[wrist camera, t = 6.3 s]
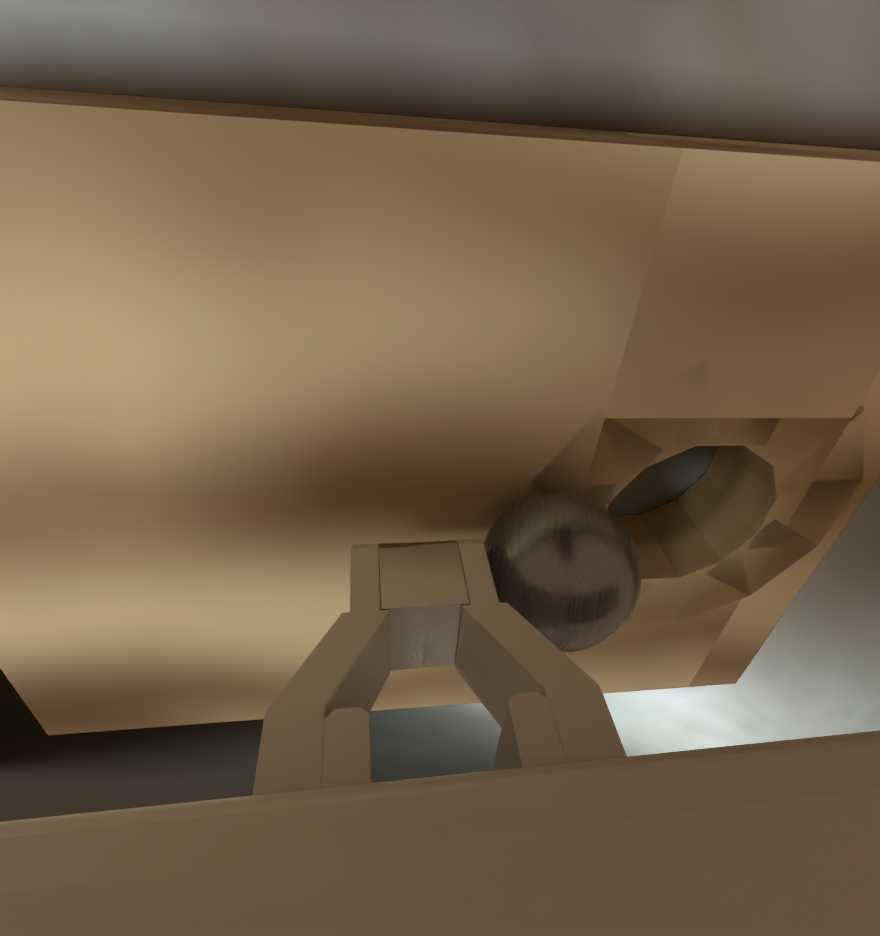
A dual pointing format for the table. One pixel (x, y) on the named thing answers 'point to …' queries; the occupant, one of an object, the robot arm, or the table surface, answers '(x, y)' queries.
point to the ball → (565, 567)
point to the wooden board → (404, 382)
